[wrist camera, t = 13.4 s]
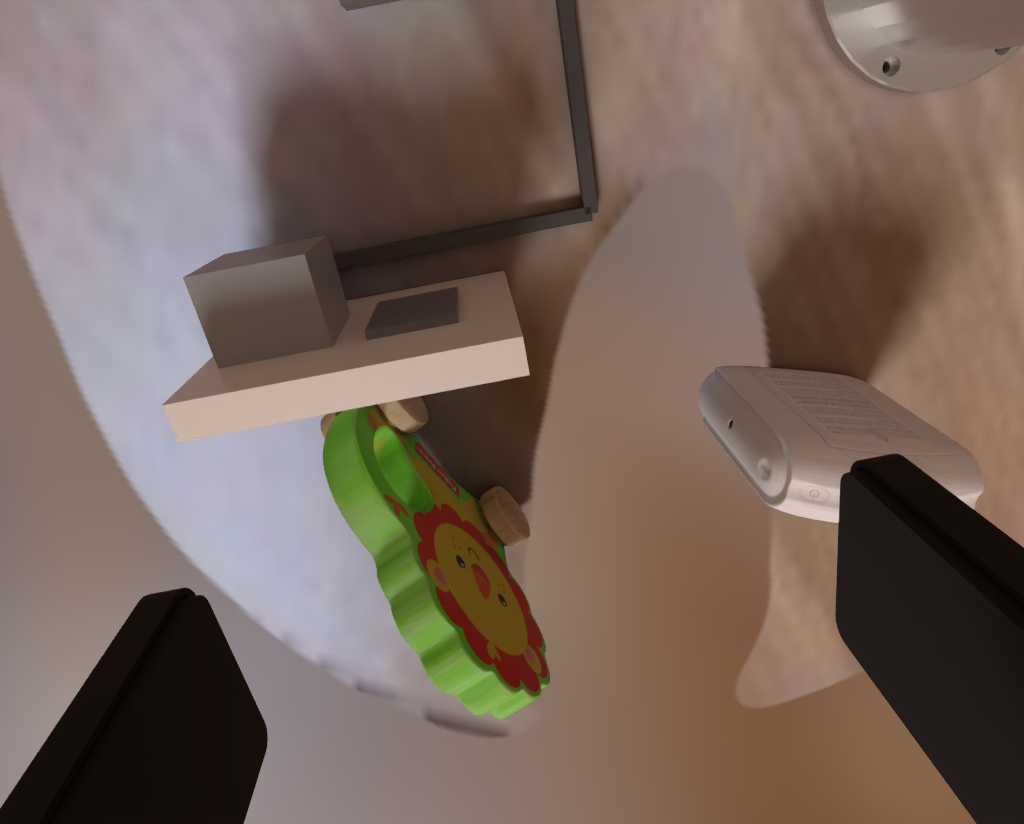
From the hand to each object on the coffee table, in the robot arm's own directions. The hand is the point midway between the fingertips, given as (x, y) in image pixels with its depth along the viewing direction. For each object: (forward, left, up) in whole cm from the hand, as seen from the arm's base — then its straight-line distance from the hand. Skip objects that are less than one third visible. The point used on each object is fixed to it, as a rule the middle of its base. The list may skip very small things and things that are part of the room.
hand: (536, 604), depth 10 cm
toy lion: (+5, +13, -29) cm, 32 cm away
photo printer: (-16, +12, -28) cm, 35 cm away
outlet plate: (+6, 0, -28) cm, 29 cm away
